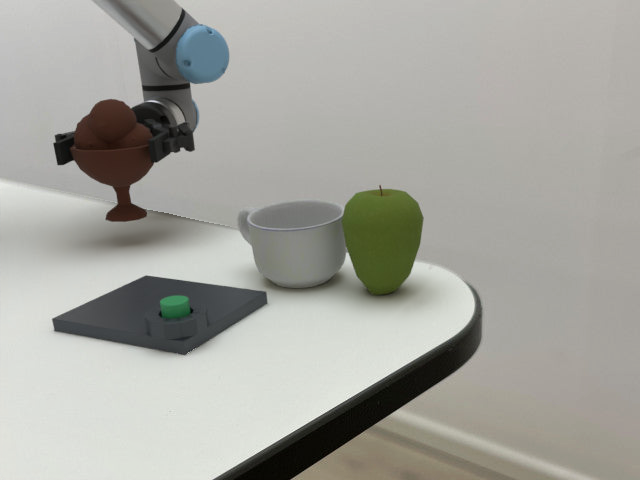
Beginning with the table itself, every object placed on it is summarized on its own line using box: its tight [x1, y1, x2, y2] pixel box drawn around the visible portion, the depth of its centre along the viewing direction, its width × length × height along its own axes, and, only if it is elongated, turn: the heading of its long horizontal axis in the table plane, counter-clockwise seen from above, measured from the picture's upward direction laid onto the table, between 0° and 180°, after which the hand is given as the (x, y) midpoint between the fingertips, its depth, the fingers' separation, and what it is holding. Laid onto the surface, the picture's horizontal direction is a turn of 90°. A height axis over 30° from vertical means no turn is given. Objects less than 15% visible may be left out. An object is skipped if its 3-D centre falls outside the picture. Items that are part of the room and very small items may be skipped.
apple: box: [341, 184, 424, 296], centre depth 80 cm, size 9×8×12 cm
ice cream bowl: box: [70, 98, 155, 223], centre depth 99 cm, size 11×11×15 cm
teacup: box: [236, 198, 347, 289], centre depth 86 cm, size 14×11×8 cm
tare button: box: [160, 296, 191, 319], centre depth 71 cm, size 3×3×2 cm
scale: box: [51, 275, 268, 356], centre depth 77 cm, size 16×14×3 cm
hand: (105, 152), depth 95 cm, fingers closed on ice cream bowl, 11 cm apart
